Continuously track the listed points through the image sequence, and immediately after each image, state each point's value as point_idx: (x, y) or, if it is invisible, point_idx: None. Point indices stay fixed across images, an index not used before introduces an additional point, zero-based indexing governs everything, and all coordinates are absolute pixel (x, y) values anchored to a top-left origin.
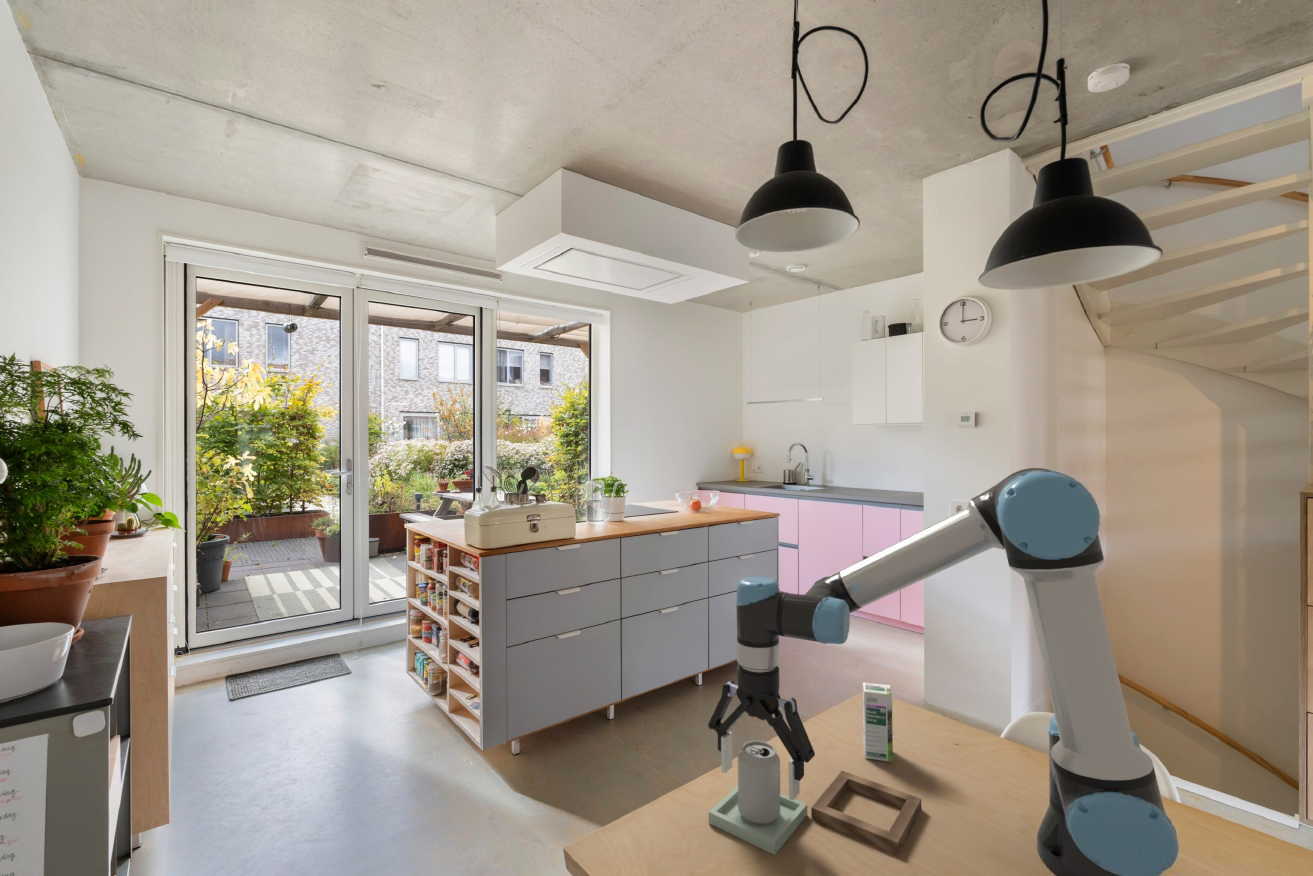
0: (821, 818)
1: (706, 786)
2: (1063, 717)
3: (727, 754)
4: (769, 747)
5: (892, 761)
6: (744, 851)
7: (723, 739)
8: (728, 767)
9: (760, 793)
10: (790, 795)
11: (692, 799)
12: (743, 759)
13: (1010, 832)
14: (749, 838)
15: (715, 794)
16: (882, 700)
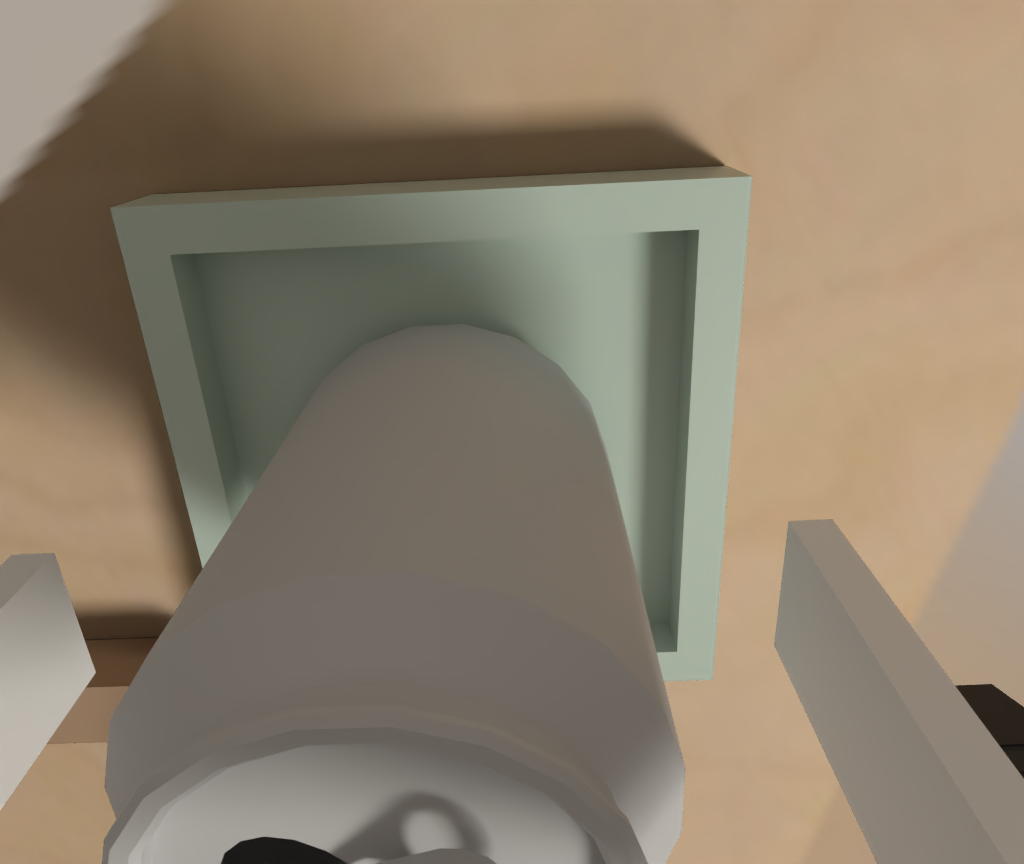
0: (144, 655)
1: (942, 507)
2: None
3: (854, 694)
4: None
5: None
6: (330, 73)
7: (1018, 844)
8: (791, 600)
9: (293, 457)
10: (15, 579)
11: (973, 324)
12: (495, 648)
13: None
14: (351, 187)
15: (843, 475)
16: None
